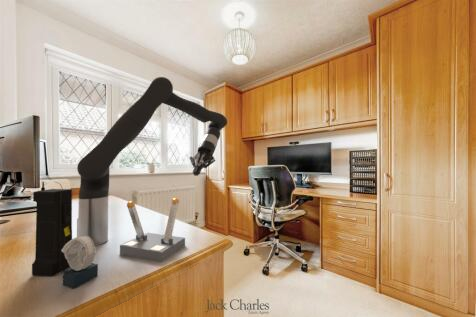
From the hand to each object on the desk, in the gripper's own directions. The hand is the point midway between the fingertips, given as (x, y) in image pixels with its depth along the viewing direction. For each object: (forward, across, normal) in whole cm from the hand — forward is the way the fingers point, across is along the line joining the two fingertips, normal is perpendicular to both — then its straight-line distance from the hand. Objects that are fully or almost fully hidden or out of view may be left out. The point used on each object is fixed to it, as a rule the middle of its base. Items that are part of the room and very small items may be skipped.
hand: (195, 174), depth 82 cm
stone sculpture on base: (+44, -9, -13) cm, 47 cm away
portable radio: (+43, -21, -13) cm, 50 cm away
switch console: (+31, -5, +2) cm, 31 cm away
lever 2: (+28, +1, 0) cm, 28 cm away
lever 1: (+28, -10, 0) cm, 30 cm away
